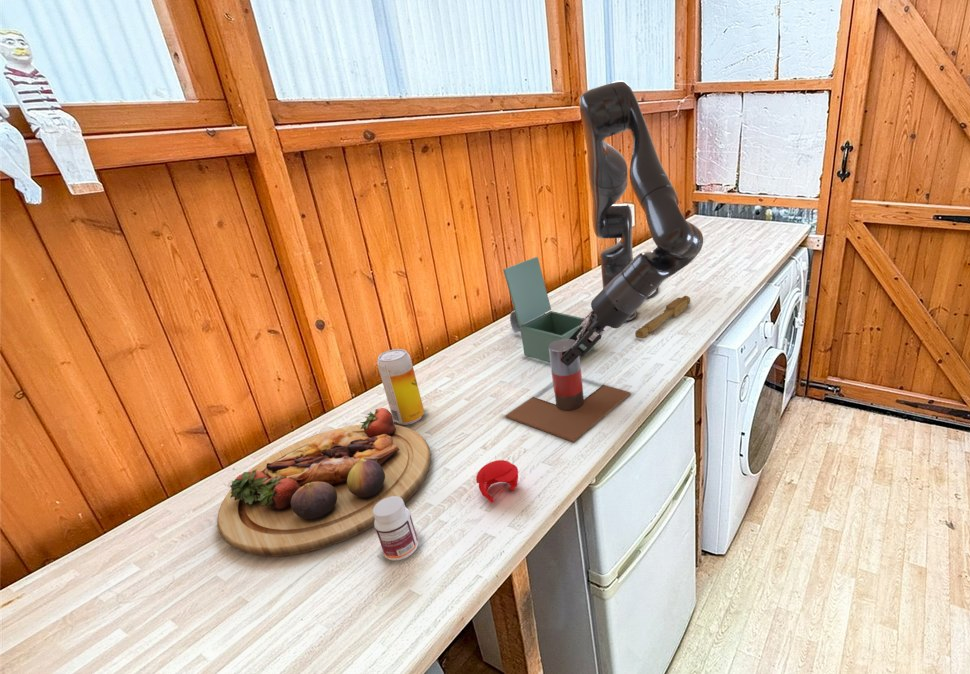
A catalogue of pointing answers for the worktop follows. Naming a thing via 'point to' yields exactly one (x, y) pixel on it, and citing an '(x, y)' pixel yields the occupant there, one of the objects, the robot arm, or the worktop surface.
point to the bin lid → (527, 290)
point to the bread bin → (547, 333)
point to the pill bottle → (395, 528)
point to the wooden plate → (323, 487)
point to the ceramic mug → (515, 322)
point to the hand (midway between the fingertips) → (567, 352)
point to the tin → (566, 377)
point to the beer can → (400, 386)
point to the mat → (568, 413)
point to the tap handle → (664, 316)
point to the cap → (496, 476)
